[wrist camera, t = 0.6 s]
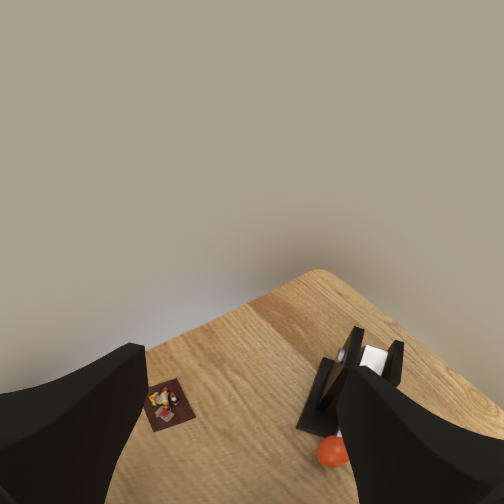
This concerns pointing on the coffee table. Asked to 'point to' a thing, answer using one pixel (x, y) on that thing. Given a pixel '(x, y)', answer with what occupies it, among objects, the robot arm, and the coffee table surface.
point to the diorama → (167, 405)
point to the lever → (333, 446)
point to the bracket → (341, 384)
